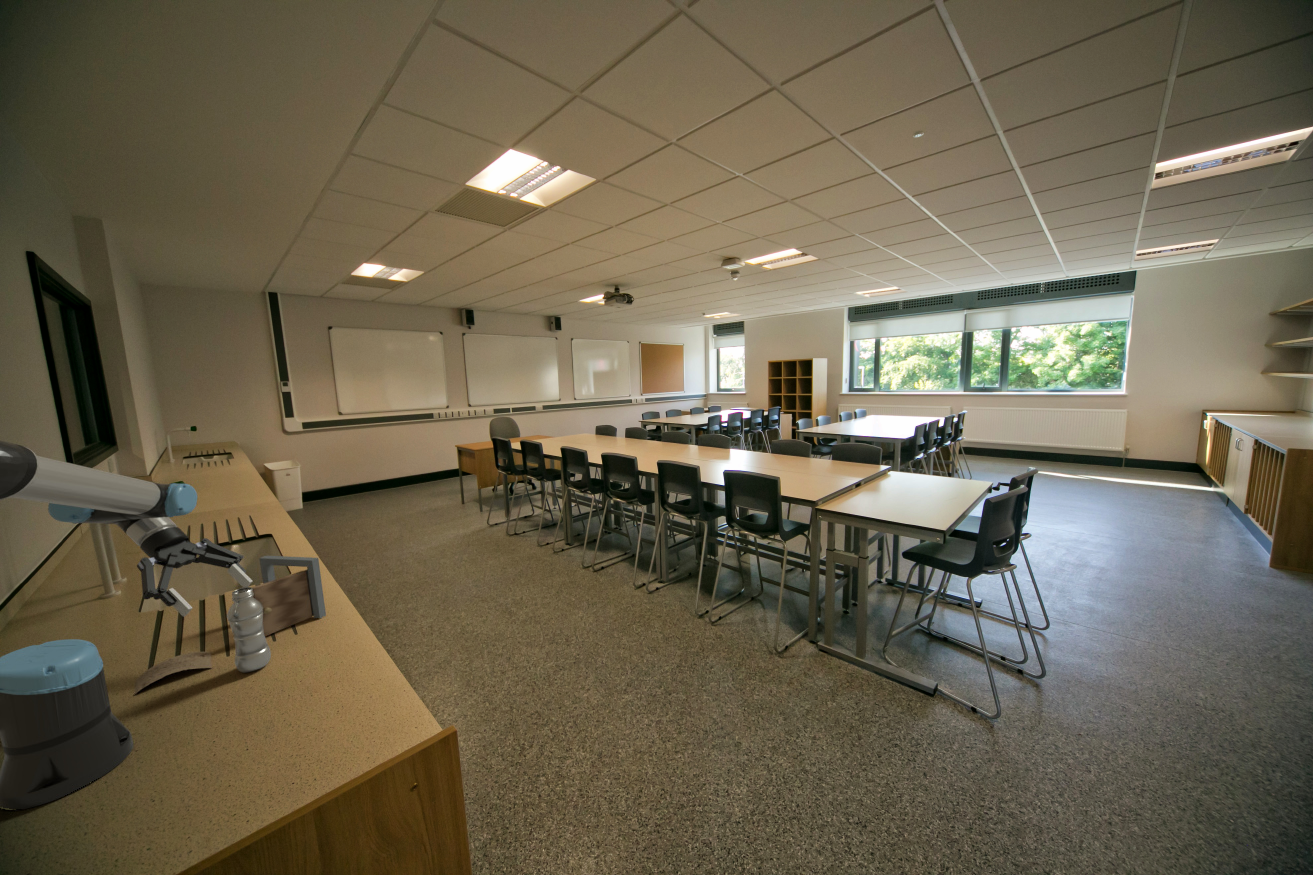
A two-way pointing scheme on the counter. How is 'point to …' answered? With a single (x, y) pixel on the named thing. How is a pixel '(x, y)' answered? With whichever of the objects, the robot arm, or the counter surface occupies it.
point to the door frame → (313, 576)
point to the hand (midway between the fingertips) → (220, 597)
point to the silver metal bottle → (248, 631)
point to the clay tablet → (173, 667)
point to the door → (284, 601)
